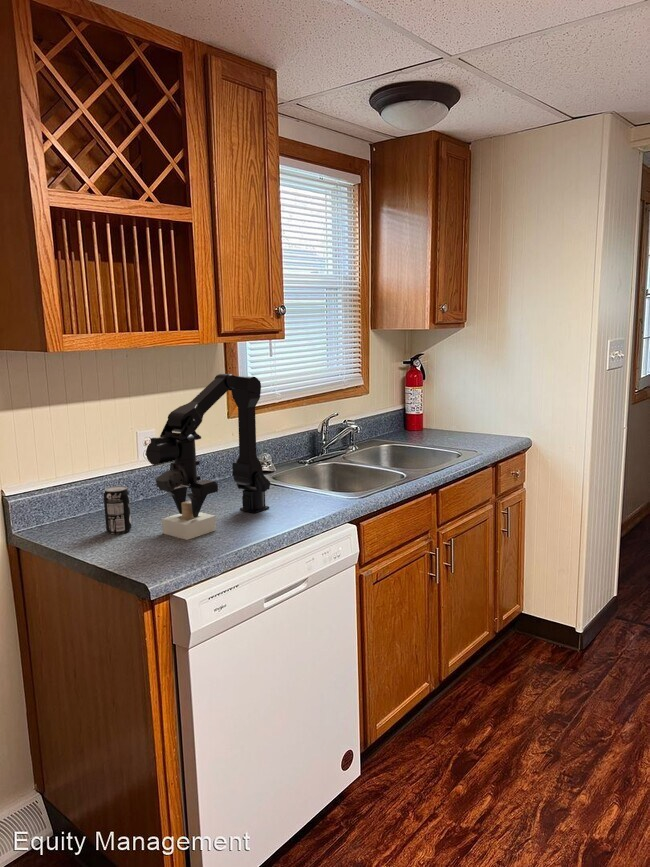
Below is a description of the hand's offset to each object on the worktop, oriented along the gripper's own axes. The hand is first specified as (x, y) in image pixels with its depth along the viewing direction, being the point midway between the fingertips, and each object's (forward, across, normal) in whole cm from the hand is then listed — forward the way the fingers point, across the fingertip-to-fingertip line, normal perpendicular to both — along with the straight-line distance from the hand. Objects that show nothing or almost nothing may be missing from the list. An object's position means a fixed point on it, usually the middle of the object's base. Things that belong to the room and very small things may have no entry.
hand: (188, 515), depth 178 cm
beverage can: (+5, -16, -11) cm, 20 cm away
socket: (+4, 0, 0) cm, 4 cm away
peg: (+4, 0, 0) cm, 5 cm away
